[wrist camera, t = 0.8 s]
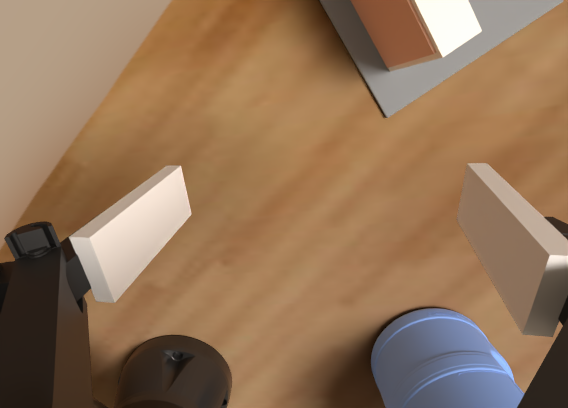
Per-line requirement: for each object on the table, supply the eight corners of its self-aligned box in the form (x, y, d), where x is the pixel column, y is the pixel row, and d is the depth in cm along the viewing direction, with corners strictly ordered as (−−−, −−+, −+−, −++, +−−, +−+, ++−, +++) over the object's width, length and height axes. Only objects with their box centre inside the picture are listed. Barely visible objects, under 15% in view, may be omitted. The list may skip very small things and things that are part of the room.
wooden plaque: (388, 72, 35) (440, 59, 24) (338, -18, 32) (369, -83, 21) (415, 54, 34) (482, 30, 23) (366, -40, 32) (414, -118, 20)
